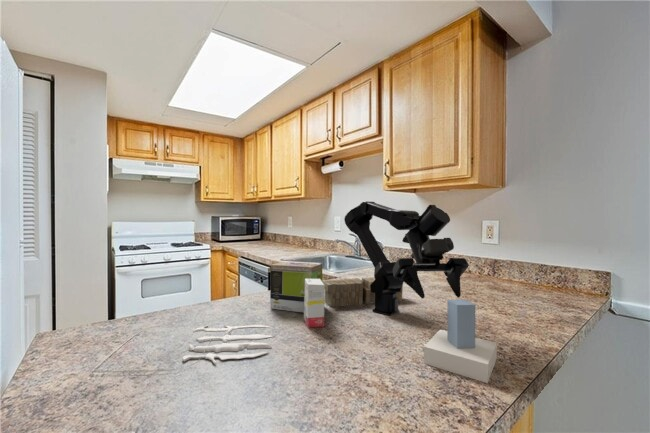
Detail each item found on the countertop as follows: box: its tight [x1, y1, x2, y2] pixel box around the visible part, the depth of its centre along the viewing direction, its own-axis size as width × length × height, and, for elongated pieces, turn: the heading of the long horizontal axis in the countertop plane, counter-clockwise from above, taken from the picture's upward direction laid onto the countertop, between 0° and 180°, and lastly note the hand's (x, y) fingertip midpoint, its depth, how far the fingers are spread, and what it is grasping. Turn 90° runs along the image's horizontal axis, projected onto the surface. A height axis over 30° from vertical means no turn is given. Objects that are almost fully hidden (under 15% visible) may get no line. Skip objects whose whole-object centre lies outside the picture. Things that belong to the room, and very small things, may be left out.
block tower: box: [322, 276, 404, 307], centre depth 108 cm, size 8×8×29 cm
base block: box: [423, 329, 498, 384], centre depth 64 cm, size 12×12×4 cm
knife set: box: [90, 323, 275, 373], centre depth 71 cm, size 26×35×1 cm
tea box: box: [269, 260, 323, 313], centre depth 99 cm, size 15×10×15 cm
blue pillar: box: [446, 299, 476, 348], centre depth 64 cm, size 4×4×9 cm
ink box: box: [303, 279, 325, 328], centre depth 86 cm, size 9×5×12 cm, turn 10°
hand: (441, 297), depth 72 cm, fingers open, 9 cm apart
